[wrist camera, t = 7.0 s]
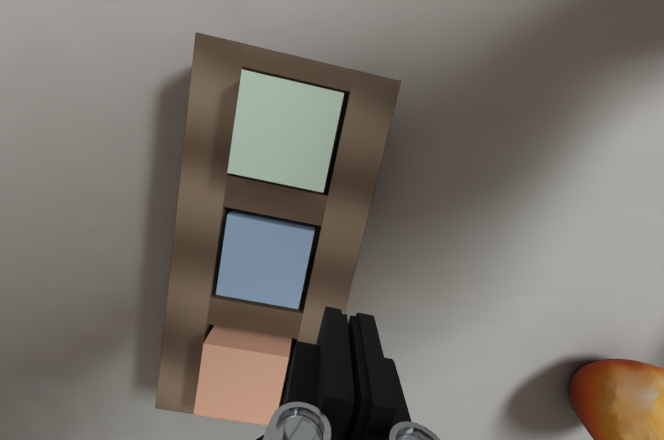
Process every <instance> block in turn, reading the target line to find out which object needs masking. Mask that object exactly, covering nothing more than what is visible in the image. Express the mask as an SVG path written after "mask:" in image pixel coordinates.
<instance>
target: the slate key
mask: <svg viewBox="0 0 664 440" xmlns="http://www.w3.org/2000/svg"><path fill="white" fill-rule="evenodd" d="M314 231H315V225H313V224H308V223H303V222H298V221H293V220H288V219H283V218H278V217H273V216H268V215H263V214H258V213H253V212H248V211H243V210H238V209H234V210H233V211H231V212H230V213H229V214H227V220H226V227H225V234H224V241H223V248H222V255H221V262H220V269H219V276H218V283H217V290H216V295H220V296H226V297H232V298H237V299H243V300H249V301H254V302H260V303H266V304H271V305H277V306H283V307H288V308H294V309H298V308H299V304H300V299H301V294H302V289H303V284H304V280H305V275H306V270H307V265H308V260H309V256H310V251H311V246H312V241H313V236H314Z"/></svg>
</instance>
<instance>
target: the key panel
mask: <svg viewBox="0 0 664 440" xmlns="http://www.w3.org/2000/svg"><path fill="white" fill-rule="evenodd" d="M242 69H243V70H247V71H251V72H255V73H260V74H264V75H268V76H273V77H277V78H281V79H286V80H290V81H294V82H298V83H303V84H307V85H311V86H316V87H320V88H324V89H329V90H333V91H337V92H341V93H344V97H343V101H342V106H341V111H340V116H339V120H338V125H337V130H336V135H335V140H334V144H333V149H332V154H331V159H330V164H329V168H328V173H327V178H326V183H325V188H324V192H323V193H322V192H318V191H313V190H308V189H303V188H298V187H293V186H289V185H284V184H279V183H274V182H269V181H264V180H259V179H255V178H250V177H245V176H240V175H235V174H230V173H227V171H228V164H229V157H230V150H231V143H232V136H233V128H234V121H235V114H236V107H237V100H238V93H239V85H240V78H241V71H242ZM400 83H401V81H398V80H393V79H389V78H385V77H381V76H377V75H372V74H368V73H364V72H360V71H356V70H352V69H347V68H343V67H339V66H335V65H331V64H326V63H322V62H318V61H314V60H310V59H306V58H301V57H297V56H293V55H289V54H285V53H280V52H276V51H272V50H268V49H264V48H259V47H255V46H251V45H247V44H243V43H239V42H234V41H230V40H226V39H222V38H218V37H213V36H209V35H205V34H201V33H197V32H196V35H195V44H194V54H193V63H192V72H191V82H190V91H189V100H188V109H187V119H186V128H185V137H184V147H183V156H182V165H181V175H180V184H179V193H178V202H177V212H176V221H175V230H174V240H173V249H172V258H171V267H170V277H169V286H168V295H167V305H166V314H165V323H164V332H163V342H162V351H161V360H160V370H159V379H158V388H157V397H156V407H155V408H157V409H164V410H171V411H177V412H184V413H191V414H194V408H195V400H196V393H197V386H198V379H199V372H200V365H201V357H202V350H203V343H204V342H205V340H206V338H207V337H208V335H209V333H210V331H211V330H212V328H213V326H214V325H218V326H224V327H230V328H236V329H242V330H248V331H254V332H260V333H265V334H271V335H277V336H283V337H289V338H292V341H291V348H290V354H289V360H288V365H287V370H286V374H285V379H284V384H283V389H282V394H281V398H280V403H279V407H281V406H282V405H284V400H285V394H286V389H287V383H288V378H289V373H290V368H291V363H292V359H293V355H294V350H295V346H296V342H297V341H300V342H305V343H310V344H316V342H317V338H318V334H319V330H320V326H321V322H322V318H323V314H324V310H325V307H326V306H327V307H332V308H337V309H341V310H342V314H344V313H345V309H346V305H347V300H348V296H349V292H350V288H351V284H352V280H353V276H354V272H355V268H356V264H357V259H358V255H359V251H360V247H361V243H362V239H363V235H364V231H365V227H366V223H367V218H368V214H369V210H370V206H371V202H372V198H373V194H374V190H375V186H376V182H377V177H378V173H379V169H380V165H381V161H382V157H383V153H384V149H385V145H386V141H387V136H388V132H389V128H390V124H391V120H392V116H393V112H394V108H395V104H396V100H397V95H398V91H399V87H400ZM234 209H238V210H243V211H248V212H253V213H258V214H263V215H268V216H273V217H278V218H283V219H288V220H293V221H298V222H303V223H308V224H313V225H315V231H314V236H313V241H312V246H311V251H310V256H309V260H308V265H307V270H306V275H305V280H304V284H303V289H302V294H301V299H300V304H299V308H298V309H294V308H288V307H283V306H277V305H271V304H266V303H260V302H254V301H249V300H243V299H237V298H232V297H226V296H220V295H216V290H217V283H218V276H219V269H220V262H221V255H222V248H223V241H224V234H225V227H226V220H227V214H229V213H230V212H231V211H233V210H234Z"/></svg>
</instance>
